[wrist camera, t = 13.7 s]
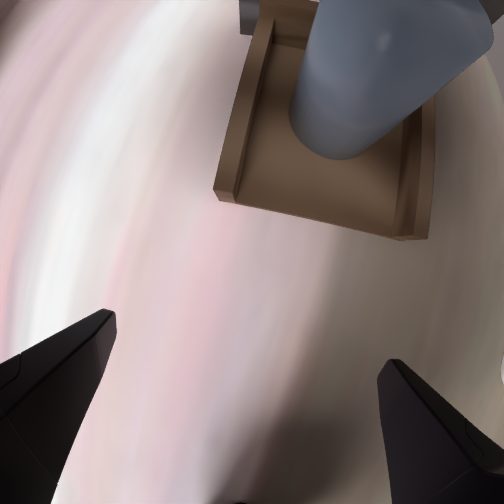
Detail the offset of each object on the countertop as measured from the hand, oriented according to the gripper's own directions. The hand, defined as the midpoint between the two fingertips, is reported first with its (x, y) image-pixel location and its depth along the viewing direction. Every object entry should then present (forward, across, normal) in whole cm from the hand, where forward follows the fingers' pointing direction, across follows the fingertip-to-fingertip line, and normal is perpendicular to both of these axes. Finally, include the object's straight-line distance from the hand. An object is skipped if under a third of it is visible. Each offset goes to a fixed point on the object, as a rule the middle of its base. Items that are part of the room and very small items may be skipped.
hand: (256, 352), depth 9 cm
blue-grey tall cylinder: (+13, -3, -8) cm, 16 cm away
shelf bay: (+14, -3, -7) cm, 16 cm away
